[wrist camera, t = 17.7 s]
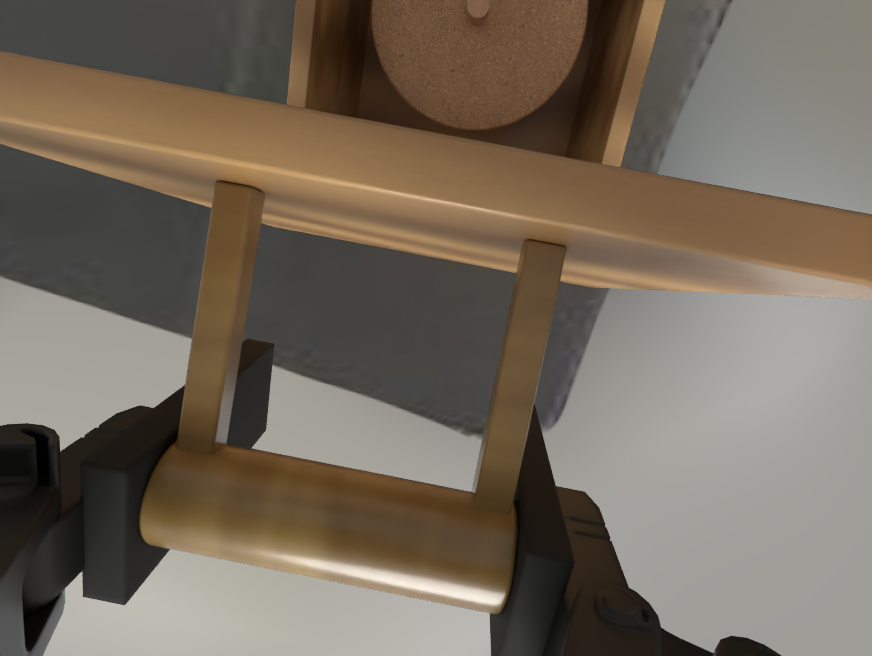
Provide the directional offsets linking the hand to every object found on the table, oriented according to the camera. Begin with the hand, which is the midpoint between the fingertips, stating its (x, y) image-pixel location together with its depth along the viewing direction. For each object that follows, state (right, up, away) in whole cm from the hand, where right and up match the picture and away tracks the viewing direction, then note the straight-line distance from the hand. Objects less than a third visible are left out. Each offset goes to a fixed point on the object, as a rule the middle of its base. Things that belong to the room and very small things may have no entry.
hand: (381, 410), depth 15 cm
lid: (+1, +6, +1) cm, 6 cm away
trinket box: (+4, +20, +18) cm, 28 cm away
